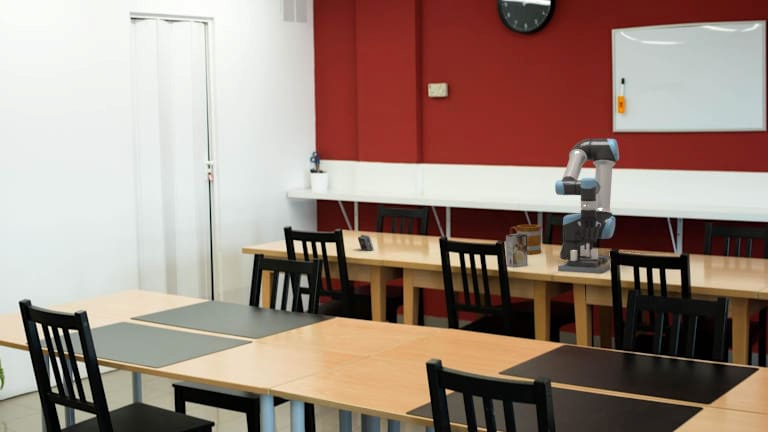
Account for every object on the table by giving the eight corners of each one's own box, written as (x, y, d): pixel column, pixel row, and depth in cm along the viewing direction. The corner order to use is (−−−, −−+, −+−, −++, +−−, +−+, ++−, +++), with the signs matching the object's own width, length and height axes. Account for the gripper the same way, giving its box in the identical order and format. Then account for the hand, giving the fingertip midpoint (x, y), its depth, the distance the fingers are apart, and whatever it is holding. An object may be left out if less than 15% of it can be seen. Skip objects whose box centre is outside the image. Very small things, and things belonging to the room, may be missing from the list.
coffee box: (520, 263, 530) (520, 232, 528) (527, 265, 524) (527, 234, 522) (505, 265, 525) (505, 234, 523) (513, 267, 520) (512, 235, 518)
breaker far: (582, 255, 522) (582, 245, 521) (586, 255, 520) (586, 245, 520) (580, 255, 519) (580, 246, 518) (585, 256, 518) (585, 246, 517)
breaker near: (572, 259, 508) (572, 249, 507) (577, 260, 507) (577, 250, 506) (570, 260, 505) (570, 250, 504) (575, 261, 504) (575, 251, 503)
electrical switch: (374, 250, 588) (372, 235, 586) (366, 252, 585) (364, 236, 584) (366, 248, 596) (364, 233, 594) (358, 250, 593) (356, 235, 592)
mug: (546, 252, 563) (546, 225, 562) (531, 255, 554) (531, 228, 552) (517, 249, 577) (517, 223, 576) (502, 252, 568) (502, 225, 566)
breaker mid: (593, 258, 511) (593, 248, 510) (598, 258, 510) (598, 248, 509) (591, 259, 508) (591, 249, 508) (596, 259, 507) (596, 249, 506)
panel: (574, 262, 528) (574, 254, 527) (616, 264, 517) (616, 256, 517) (558, 271, 505) (558, 262, 504) (601, 273, 495) (601, 264, 494)
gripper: (573, 209, 507) (573, 256, 510) (599, 210, 501) (599, 258, 504) (578, 208, 514) (578, 254, 516) (603, 208, 508) (603, 255, 510)
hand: (588, 256), depth 510 cm, fingers closed
